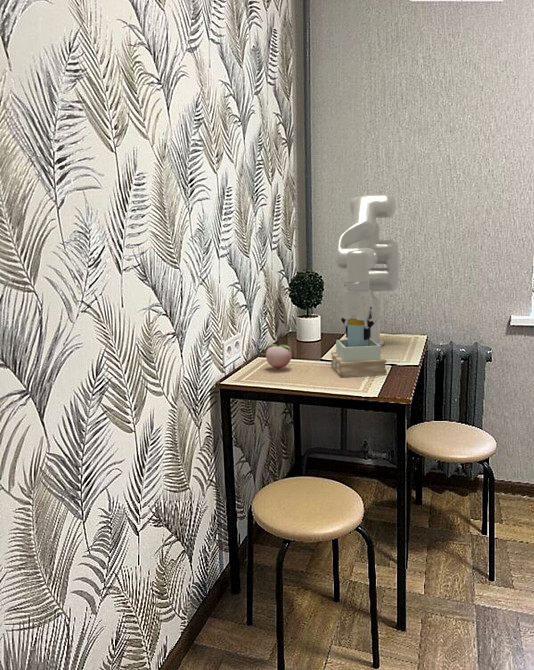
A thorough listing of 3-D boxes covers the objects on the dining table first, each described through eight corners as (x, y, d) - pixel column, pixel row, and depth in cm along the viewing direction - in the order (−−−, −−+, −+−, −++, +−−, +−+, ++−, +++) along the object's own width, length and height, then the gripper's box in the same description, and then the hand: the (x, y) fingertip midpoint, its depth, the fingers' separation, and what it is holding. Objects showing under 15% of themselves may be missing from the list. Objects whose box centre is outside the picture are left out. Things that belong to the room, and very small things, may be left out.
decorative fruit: (263, 372, 216) (262, 344, 214) (267, 366, 224) (266, 339, 222) (290, 372, 215) (289, 344, 213) (293, 366, 223) (292, 339, 221)
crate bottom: (331, 366, 222) (331, 352, 221) (374, 363, 223) (374, 350, 222) (340, 377, 207) (340, 363, 206) (386, 374, 208) (386, 360, 207)
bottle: (346, 352, 212) (345, 309, 208) (349, 348, 218) (349, 306, 215) (366, 353, 209) (366, 310, 206) (369, 349, 216) (369, 306, 213)
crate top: (336, 353, 220) (336, 340, 219) (370, 351, 221) (370, 338, 220) (344, 361, 207) (344, 347, 206) (380, 359, 209) (380, 345, 208)
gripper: (330, 286, 212) (330, 337, 215) (374, 289, 201) (374, 343, 205) (342, 284, 217) (342, 333, 221) (386, 286, 207) (385, 339, 210)
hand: (357, 337), depth 213 cm, fingers closed on bottle, 6 cm apart
